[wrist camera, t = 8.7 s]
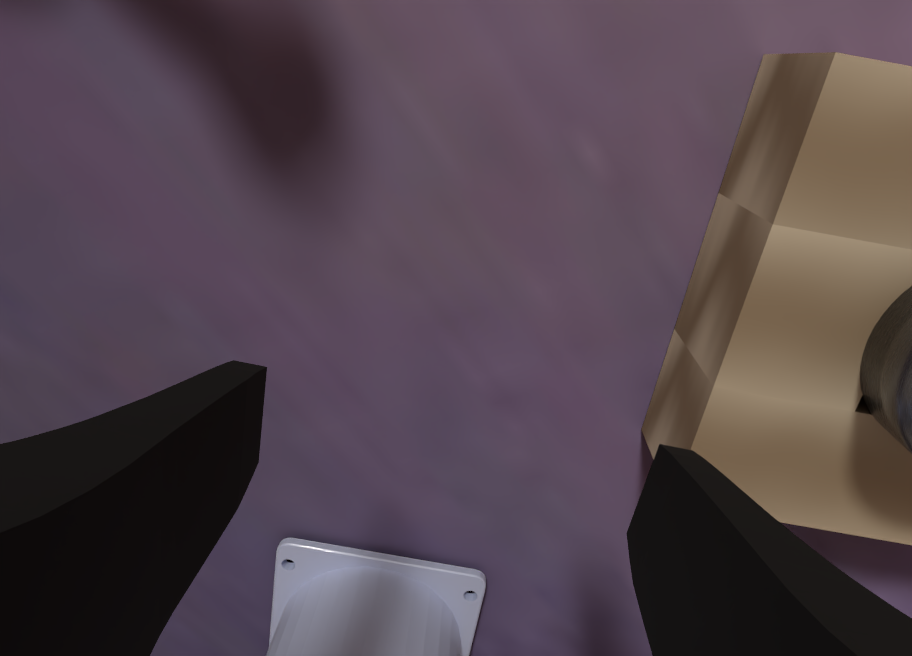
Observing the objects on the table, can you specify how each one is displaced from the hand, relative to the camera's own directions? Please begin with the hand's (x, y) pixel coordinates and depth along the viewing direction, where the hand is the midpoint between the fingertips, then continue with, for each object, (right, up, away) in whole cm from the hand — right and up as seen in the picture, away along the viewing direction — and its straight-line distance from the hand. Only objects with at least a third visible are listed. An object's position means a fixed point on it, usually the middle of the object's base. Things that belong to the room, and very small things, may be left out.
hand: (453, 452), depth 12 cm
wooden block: (+13, +3, +8) cm, 16 cm away
